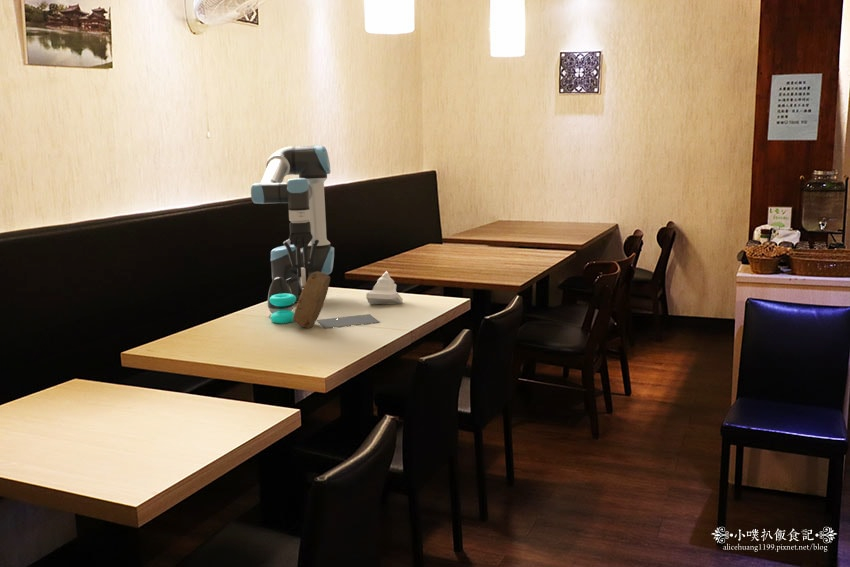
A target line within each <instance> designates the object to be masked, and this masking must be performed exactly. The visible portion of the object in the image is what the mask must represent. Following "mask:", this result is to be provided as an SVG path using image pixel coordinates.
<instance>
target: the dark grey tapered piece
mask: <svg viewBox="0 0 850 567" xmlns="http://www.w3.org/2000/svg"><path fill="white" fill-rule="evenodd" d="M291 280H292V278H289V279H287V280H285V279H284V278H283V277H276V278H275V279H274V280H273V281H271V284H270V286H269V290H268V295H267V307H268V310H269V312H270V313H271V315H272V314H273V313H275V312H277V311H282V310H289V311H293V308H294V306H295V303H293V304H291V305H288V306H275V305H272V304H271V303H270V301H269V299H270V297H271V296H273V295H276V294H283V293H288V294H292V292H291V289H290V287H289V285H288V282H290V281H291Z"/></svg>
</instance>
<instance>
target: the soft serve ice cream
mask: <svg viewBox="0 0 850 567" xmlns="http://www.w3.org/2000/svg"><path fill="white" fill-rule="evenodd" d="M376 281H377V282H376V283H375V285H373V287H372V289H371V290H370V291H368V292H366V294H365V295H366V297H365V298H366V300H367V302H368V304H369V305H370V304H371V305H388V304H387V303H395V304H403V301H404V300H403V299H404V298H403V297H402V296H401V295H400V293H399V292H397V284H396V283H395V280H394V279H393V278H391V275H390V274H389V272H388V271H387V270H386V271H385V272H384V273H383V274H382V275H381V276H380V277H379V278H378V279H377V280H376Z"/></svg>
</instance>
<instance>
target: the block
mask: <svg viewBox="0 0 850 567" xmlns="http://www.w3.org/2000/svg"><path fill="white" fill-rule="evenodd" d="M330 282H331V276H330V275H329V274H324V273H321V272H319V271H317V272H314V273H312V274H311V275H308V277H307V278H306V283H305V285H304V286H303V287H302V288H303V290H302V293H301V295H300V298H299V301H298V302H297V304H296V307H295V310H294V311H293V312H294V316H293V322H294V323H295V324H296V325H297V326H300V327H303V328H307V329H309V328H312V327H313V326H314V325H315V323H316V322H317V320H318V319H319V316H320V314H321V311H322V309H323V306H324V303H325V301H326V298H327V295H328V290H329V287H330Z"/></svg>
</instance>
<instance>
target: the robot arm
mask: <svg viewBox="0 0 850 567" xmlns="http://www.w3.org/2000/svg"><path fill="white" fill-rule="evenodd" d="M330 163H331V162H330V158H329V153H328V149H327V148H326V147H325V146H324V145H300V146H296V145H295V146H286V147H282V148H280V149H278V150H276V151H275V152H274V153H272V154H271V155H270V156H269V157H268V159H267V161H266V163H265V165H266V166H265V167H266V170H265V172H264V175H263V177H262V179H261V182H257V183H253V184H252V185H251V187H250V197H251V201H252V202H253V204H261V205H265V204H267V205H268V204H288V220H289V221H290V222H289V236H288V239H286V240H284V241H282V244H283V245H281V246H277V247H275V248H273V249H272V250H271V251H270V268H271V280H272V281H273V280H274V279H275V278H276V277H283V278H284V279H285V280H287V279H289V278H292V280H291V281H290V282H288V285H289V287H290V289H291V292H292V294H293V295H295V297H296V301H295V302H294V304H295V303H298V301H299V298H300V295H301V293H302V290H303V288H304V285H305V283H306V282H307V278H308V277H309V275H311V274H312V273H314V272H317V271H319V272H321V273H324V274H327V275H330V274H331V273H332V272H333V268H334V259H335V247H333V246H331V242H330V241H329V240H328V238H327V220H326V202H325V201H326V200H325V182H326V180H328V175H330V174H331V171H332V170H331V164H330ZM292 175H293V176H294V175H295V176H296V175H297V176H298V177H297V178H296V177H295V178H293V177H292V178H289V179H288V180H287V182H283V181H284V180H285V177H286V176H292ZM272 281H271V282H272Z"/></svg>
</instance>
